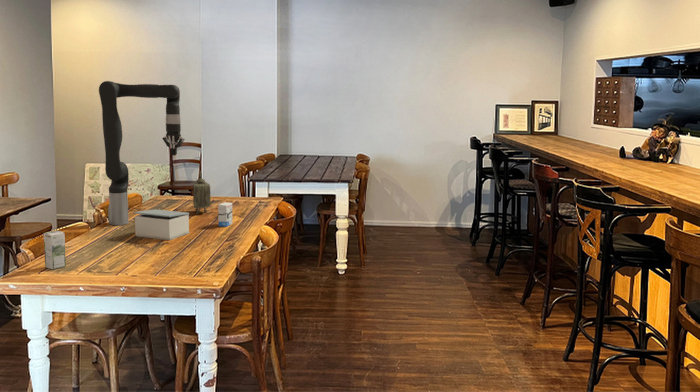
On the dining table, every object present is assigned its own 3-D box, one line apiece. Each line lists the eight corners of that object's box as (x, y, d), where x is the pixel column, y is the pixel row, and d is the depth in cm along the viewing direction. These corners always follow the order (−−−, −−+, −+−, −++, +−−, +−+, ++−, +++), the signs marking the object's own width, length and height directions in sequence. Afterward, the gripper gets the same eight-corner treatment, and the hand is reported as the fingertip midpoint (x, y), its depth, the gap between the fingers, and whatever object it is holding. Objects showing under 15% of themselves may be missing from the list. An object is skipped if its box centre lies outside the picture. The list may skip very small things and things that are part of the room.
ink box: (226, 227, 327) (226, 205, 325) (218, 226, 328) (217, 204, 326) (232, 223, 335) (232, 202, 333) (224, 223, 336) (224, 202, 334)
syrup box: (58, 264, 252) (56, 230, 250) (66, 266, 249) (64, 232, 246) (45, 267, 248) (42, 232, 245) (53, 270, 244) (50, 234, 242)
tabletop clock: (193, 210, 368) (192, 169, 364) (208, 209, 371) (208, 169, 367) (194, 215, 355) (194, 172, 350) (210, 214, 357) (210, 172, 353)
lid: (133, 213, 300) (133, 212, 300) (155, 210, 315) (155, 209, 315) (169, 217, 293) (169, 215, 293) (189, 214, 309) (189, 212, 309)
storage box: (135, 236, 302) (134, 216, 301) (156, 229, 317) (155, 210, 315) (169, 240, 296) (169, 220, 294) (189, 233, 310) (188, 214, 309)
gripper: (158, 122, 324) (159, 155, 327) (179, 123, 319) (180, 156, 322) (167, 122, 331) (167, 154, 333) (187, 123, 326) (188, 155, 329)
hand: (173, 155), depth 328 cm, fingers closed
